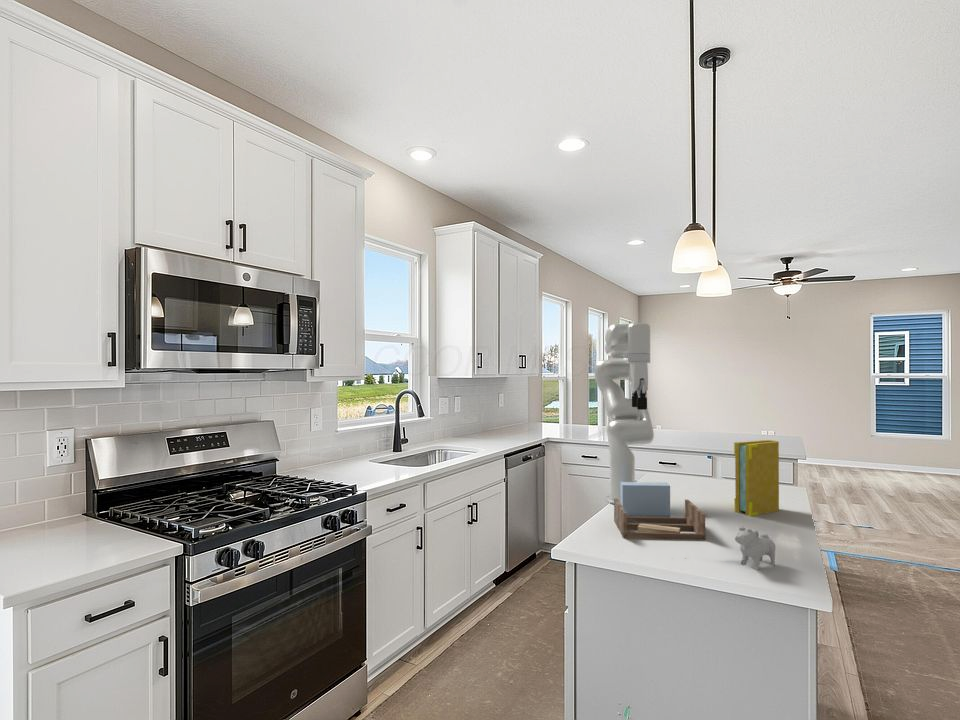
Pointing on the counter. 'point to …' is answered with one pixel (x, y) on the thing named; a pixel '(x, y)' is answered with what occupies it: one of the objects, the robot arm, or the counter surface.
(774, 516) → the counter surface
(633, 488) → the blue-grey rectangular block
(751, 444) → the book
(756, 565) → the grey animal figure
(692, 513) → the rack
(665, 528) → the offcut top
